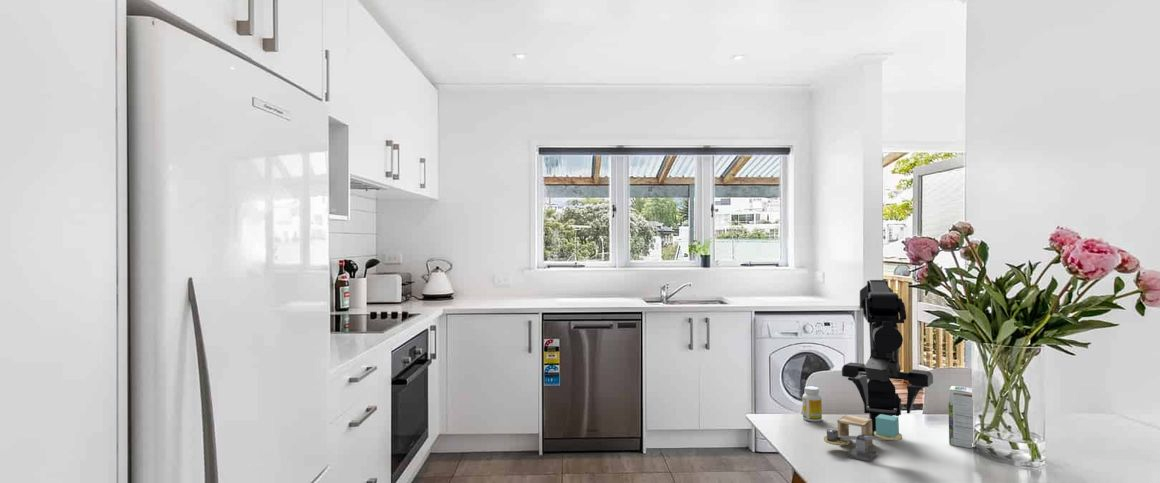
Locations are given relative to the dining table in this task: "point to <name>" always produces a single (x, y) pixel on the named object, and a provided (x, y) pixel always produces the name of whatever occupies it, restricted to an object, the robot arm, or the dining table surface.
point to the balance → (857, 443)
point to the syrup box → (960, 416)
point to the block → (887, 425)
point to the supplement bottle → (812, 404)
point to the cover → (856, 421)
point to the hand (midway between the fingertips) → (887, 409)
